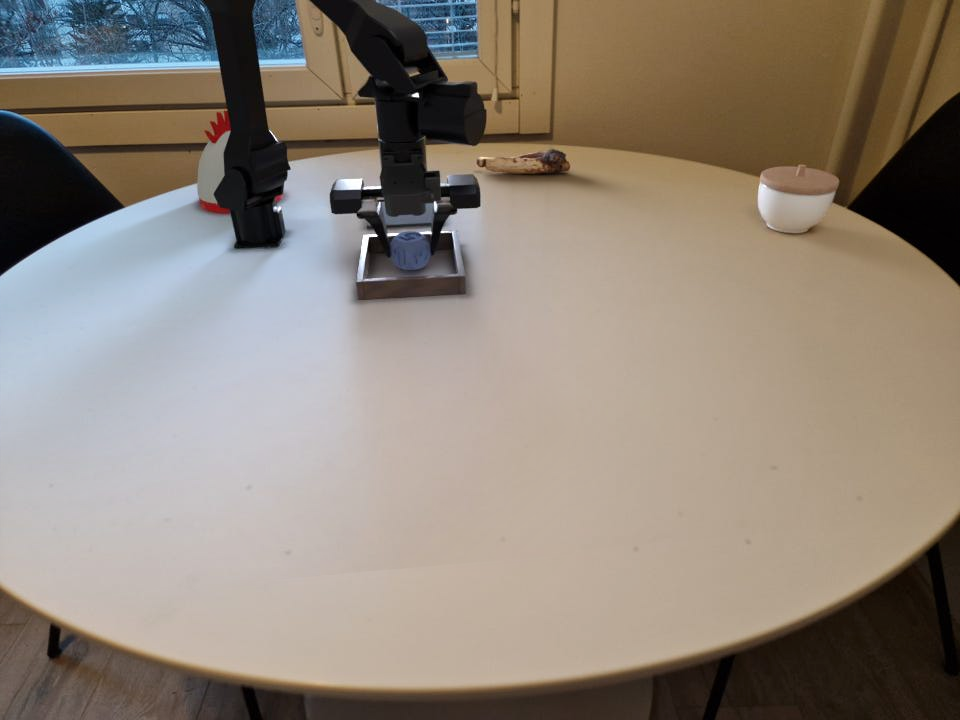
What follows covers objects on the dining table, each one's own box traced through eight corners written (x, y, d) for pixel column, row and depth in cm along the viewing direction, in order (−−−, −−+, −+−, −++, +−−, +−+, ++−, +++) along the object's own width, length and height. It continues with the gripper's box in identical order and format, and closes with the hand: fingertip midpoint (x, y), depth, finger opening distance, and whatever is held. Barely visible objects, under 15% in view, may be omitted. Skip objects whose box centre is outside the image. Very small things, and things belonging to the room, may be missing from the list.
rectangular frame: (358, 299, 82) (355, 282, 80) (365, 251, 95) (363, 235, 93) (465, 293, 82) (465, 276, 81) (458, 246, 96) (457, 230, 94)
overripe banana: (568, 166, 130) (479, 163, 132) (570, 142, 128) (479, 140, 129) (570, 179, 122) (475, 176, 124) (572, 153, 120) (475, 150, 121)
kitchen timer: (298, 195, 117) (283, 107, 109) (237, 218, 107) (215, 124, 99) (246, 183, 123) (228, 100, 115) (183, 204, 113) (159, 115, 105)
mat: (367, 228, 102) (366, 225, 102) (370, 203, 112) (370, 200, 112) (443, 224, 103) (442, 222, 103) (439, 199, 113) (439, 197, 113)
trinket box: (748, 234, 98) (762, 172, 93) (752, 210, 106) (764, 152, 101) (826, 243, 94) (845, 179, 89) (824, 218, 103) (840, 158, 98)
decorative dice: (390, 264, 88) (388, 237, 86) (412, 255, 90) (410, 228, 88) (410, 273, 86) (408, 244, 83) (432, 263, 88) (430, 235, 86)
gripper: (316, 158, 72) (335, 285, 80) (484, 152, 73) (485, 278, 81) (326, 133, 81) (342, 250, 89) (475, 128, 82) (477, 243, 91)
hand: (410, 255), depth 87 cm, fingers closed on decorative dice, 5 cm apart
